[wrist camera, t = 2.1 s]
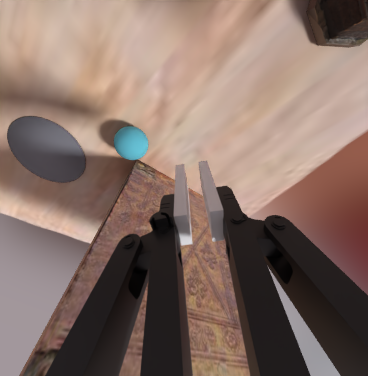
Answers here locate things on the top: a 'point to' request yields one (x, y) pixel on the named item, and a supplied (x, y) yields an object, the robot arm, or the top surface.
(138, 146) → the ball
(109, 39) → the top surface
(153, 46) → the top surface
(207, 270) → the book
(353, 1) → the bird statue
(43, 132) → the disc
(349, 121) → the top surface
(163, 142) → the top surface
